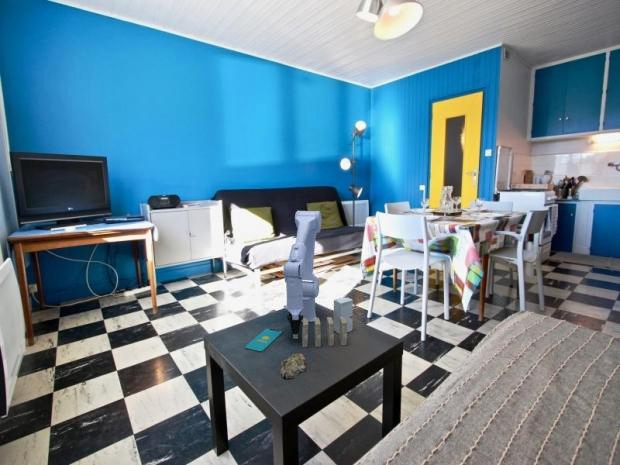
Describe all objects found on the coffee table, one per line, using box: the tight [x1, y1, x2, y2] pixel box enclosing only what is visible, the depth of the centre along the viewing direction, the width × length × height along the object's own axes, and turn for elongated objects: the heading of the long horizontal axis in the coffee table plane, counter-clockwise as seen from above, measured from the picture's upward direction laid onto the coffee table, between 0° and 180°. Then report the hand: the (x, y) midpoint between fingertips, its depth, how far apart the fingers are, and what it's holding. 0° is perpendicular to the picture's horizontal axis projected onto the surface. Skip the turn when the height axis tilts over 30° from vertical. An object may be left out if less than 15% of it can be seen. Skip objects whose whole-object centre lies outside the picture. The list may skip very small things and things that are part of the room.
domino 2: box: [301, 318, 309, 348], centre depth 105 cm, size 2×5×8 cm, turn 4°
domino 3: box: [313, 317, 322, 347], centre depth 106 cm, size 2×5×8 cm, turn 4°
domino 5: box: [339, 317, 348, 346], centre depth 106 cm, size 2×5×8 cm, turn 4°
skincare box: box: [333, 296, 354, 335], centre depth 114 cm, size 6×4×12 cm
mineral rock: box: [279, 353, 307, 380], centre depth 91 cm, size 11×4×8 cm
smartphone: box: [244, 328, 283, 353], centre depth 109 cm, size 7×1×15 cm
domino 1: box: [292, 333, 299, 340], centre depth 111 cm, size 2×5×8 cm, turn 4°
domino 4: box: [326, 316, 335, 347], centre depth 106 cm, size 2×5×8 cm, turn 4°
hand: (295, 330), depth 111 cm, fingers closed on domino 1, 5 cm apart
